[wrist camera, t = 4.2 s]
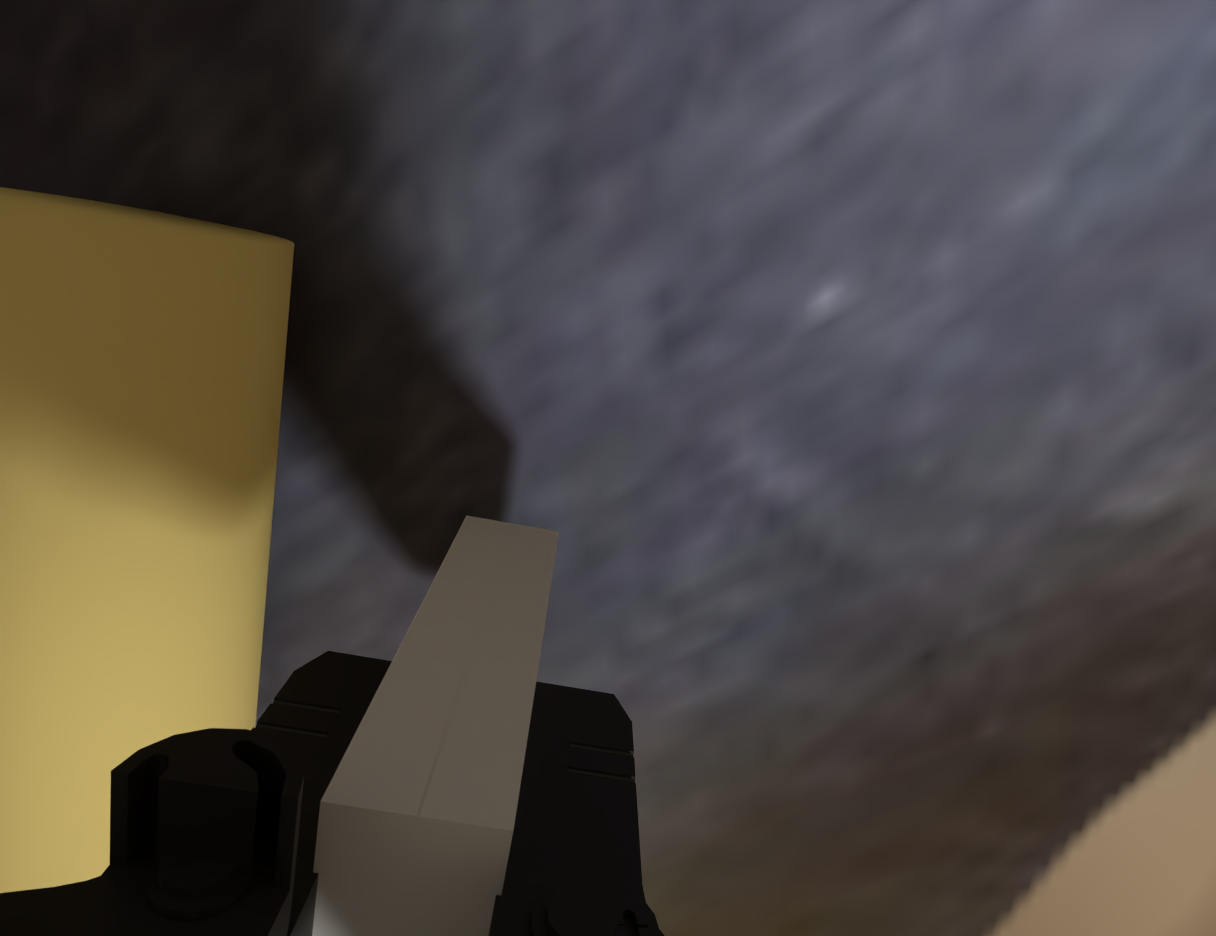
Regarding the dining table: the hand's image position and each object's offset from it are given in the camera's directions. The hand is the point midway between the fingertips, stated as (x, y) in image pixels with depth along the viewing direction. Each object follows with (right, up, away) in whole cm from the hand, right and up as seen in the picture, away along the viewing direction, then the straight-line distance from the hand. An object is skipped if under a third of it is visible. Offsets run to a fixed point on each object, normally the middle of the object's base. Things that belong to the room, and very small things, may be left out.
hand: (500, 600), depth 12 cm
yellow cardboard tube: (-6, +1, +1) cm, 6 cm away
